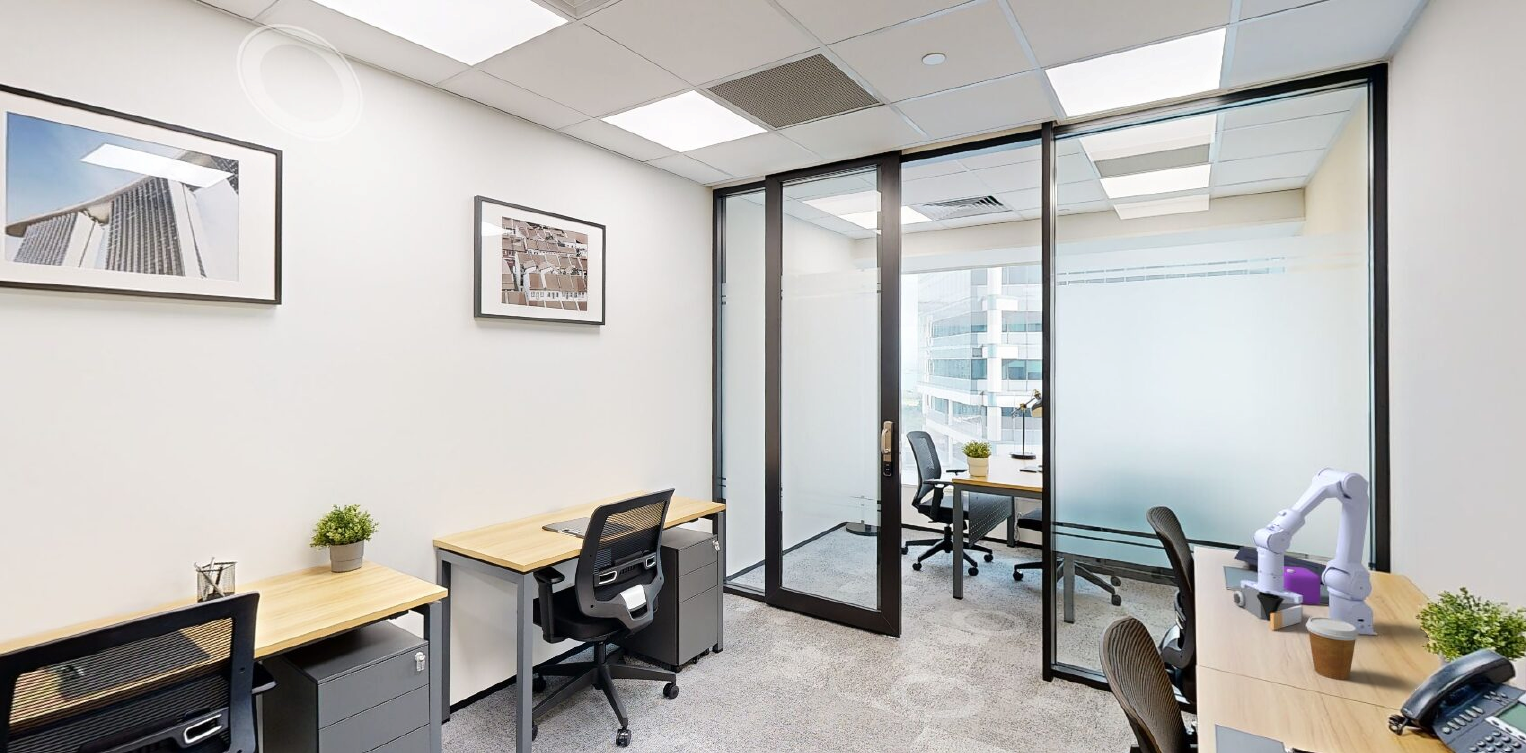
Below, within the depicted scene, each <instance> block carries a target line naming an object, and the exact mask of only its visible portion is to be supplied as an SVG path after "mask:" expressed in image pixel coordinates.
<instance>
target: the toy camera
mask: <svg viewBox="0 0 1526 753" xmlns="http://www.w3.org/2000/svg"><path fill="white" fill-rule="evenodd" d="M1284 589H1286V590H1288V591H1291V592H1293V593H1296V594H1299V595H1302V596H1303V602H1302V603H1300V605H1302V604H1303V605H1318V604H1320V603H1321V582H1320V577H1319V576H1318V575H1316V574H1315V573H1313V572H1311V571H1310V570H1308V569H1306V568H1301V567H1287V566H1284Z"/></svg>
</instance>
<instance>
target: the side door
mask: <svg viewBox="0 0 1526 753" xmlns="http://www.w3.org/2000/svg"><path fill="white" fill-rule="evenodd" d="M1269 622H1270V627H1269V628H1270V630H1271V631H1274V630H1279V629H1282V628H1286V627H1288V626H1292V625H1295V624H1298V623H1301V622H1302V621H1301V606H1295V607H1291V608H1288V609H1284V610H1281V611H1277V612H1273V613H1270V621H1269Z"/></svg>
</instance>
